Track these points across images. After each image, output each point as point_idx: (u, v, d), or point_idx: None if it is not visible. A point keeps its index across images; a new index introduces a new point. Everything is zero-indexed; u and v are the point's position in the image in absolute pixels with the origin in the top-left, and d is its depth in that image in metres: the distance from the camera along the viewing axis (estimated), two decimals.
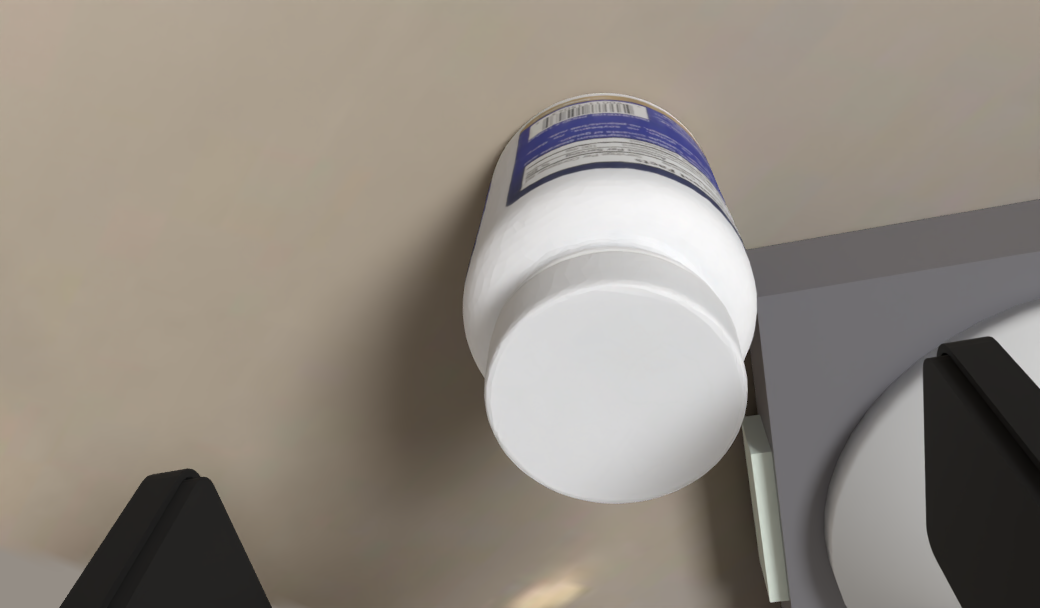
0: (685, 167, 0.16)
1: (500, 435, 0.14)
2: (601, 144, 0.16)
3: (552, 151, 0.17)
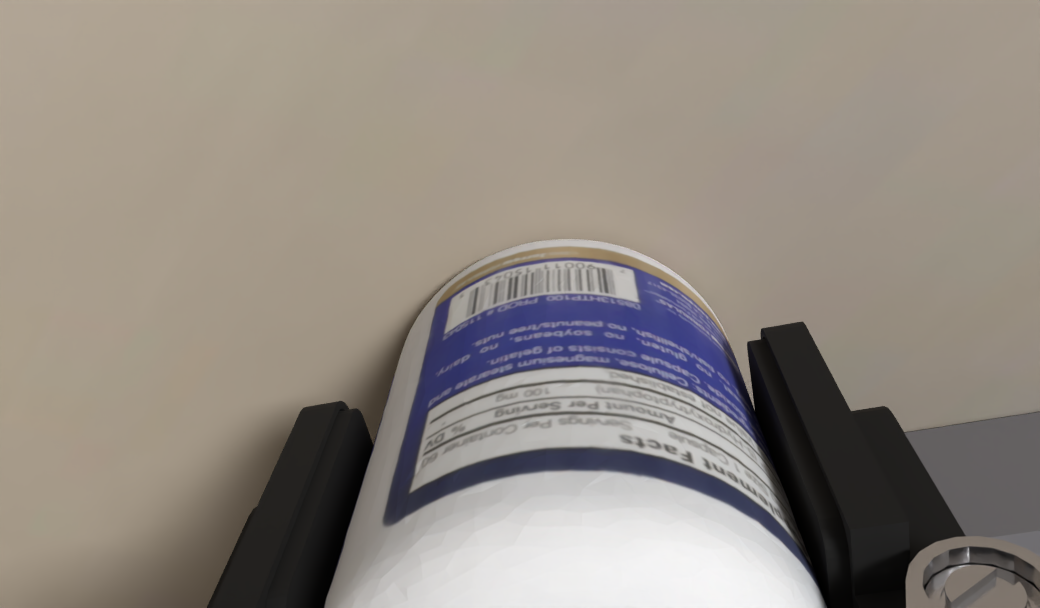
0: (709, 429, 0.09)
1: None
2: (559, 386, 0.09)
3: (474, 389, 0.09)
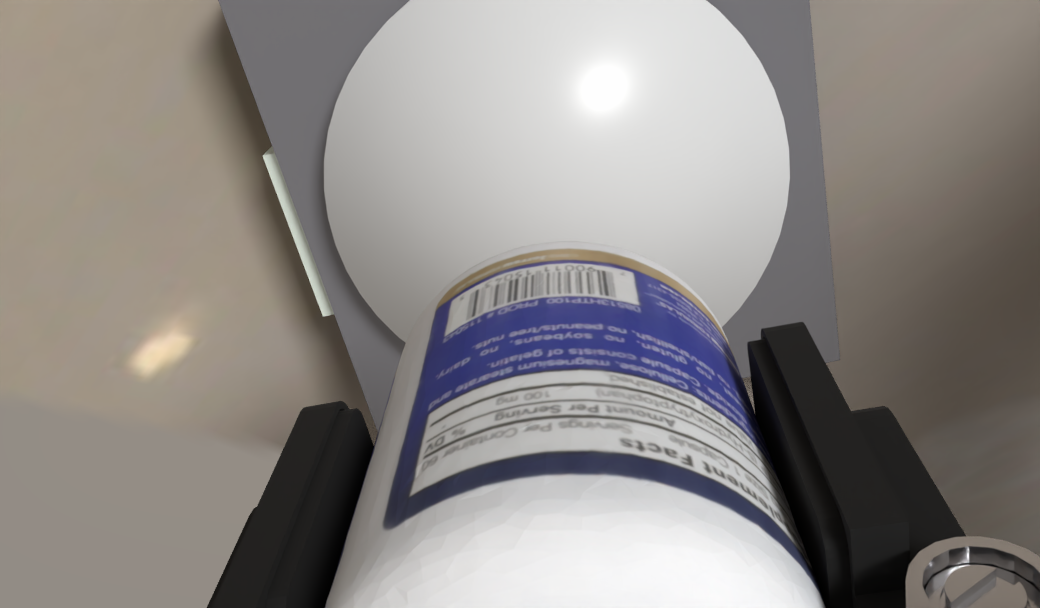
0: (709, 432, 0.09)
1: None
2: (559, 389, 0.09)
3: (474, 392, 0.09)
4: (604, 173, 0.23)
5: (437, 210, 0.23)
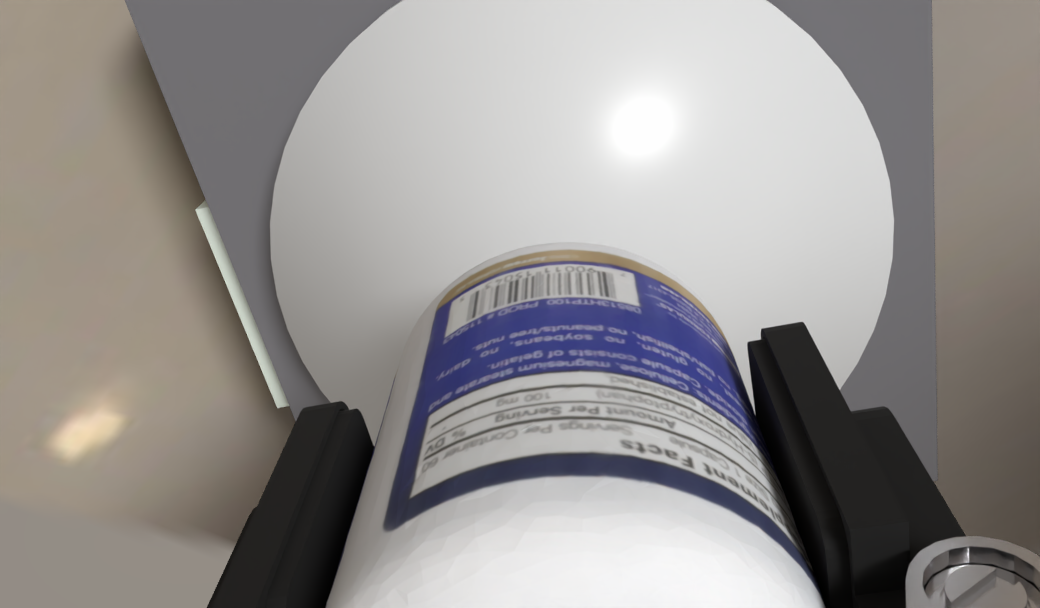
0: (709, 433, 0.09)
1: None
2: (560, 390, 0.09)
3: (475, 394, 0.09)
4: (642, 247, 0.17)
5: (420, 289, 0.17)
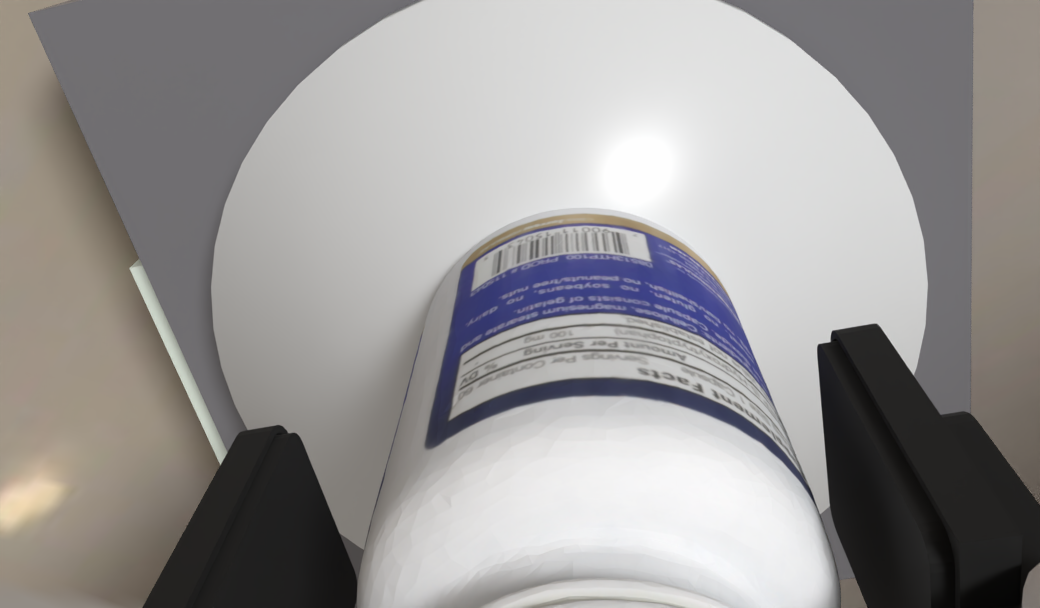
0: (717, 367, 0.10)
1: None
2: (581, 329, 0.10)
3: (503, 334, 0.10)
4: None
5: (385, 360, 0.15)
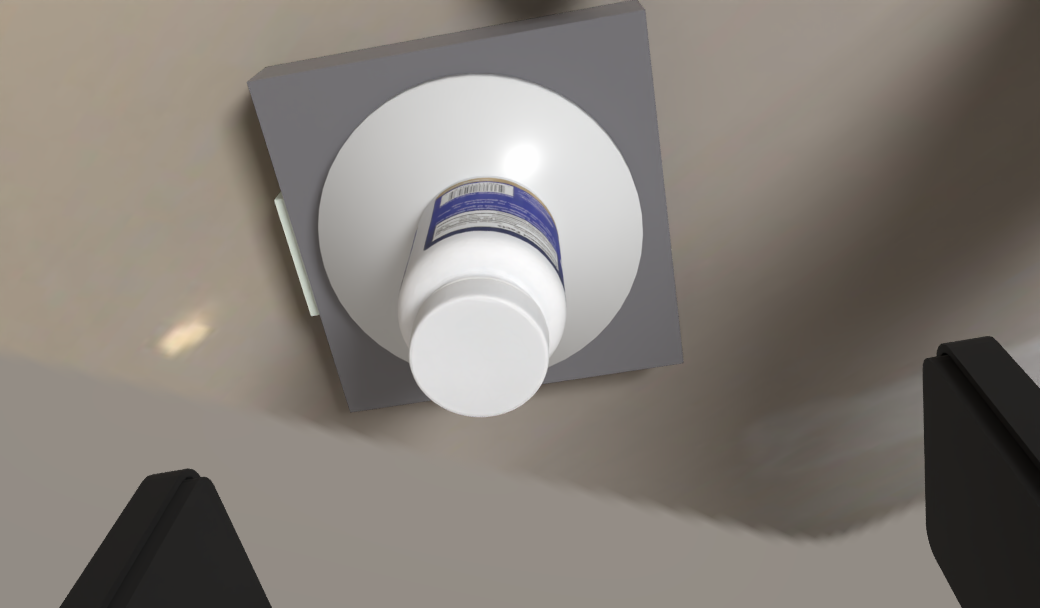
0: (528, 229, 0.28)
1: (417, 377, 0.25)
2: (480, 214, 0.28)
3: (452, 217, 0.28)
4: None
5: (397, 245, 0.33)
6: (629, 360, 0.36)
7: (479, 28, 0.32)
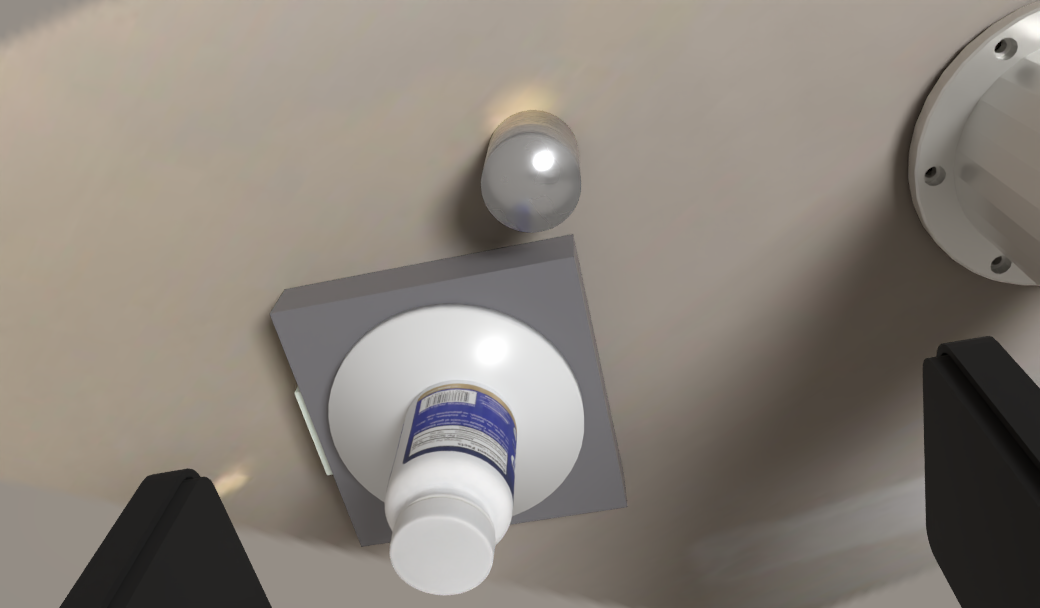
0: (483, 441, 0.36)
1: (396, 569, 0.34)
2: (446, 430, 0.36)
3: (425, 431, 0.37)
4: None
5: (391, 429, 0.42)
6: (583, 505, 0.44)
7: (450, 258, 0.41)
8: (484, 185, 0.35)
